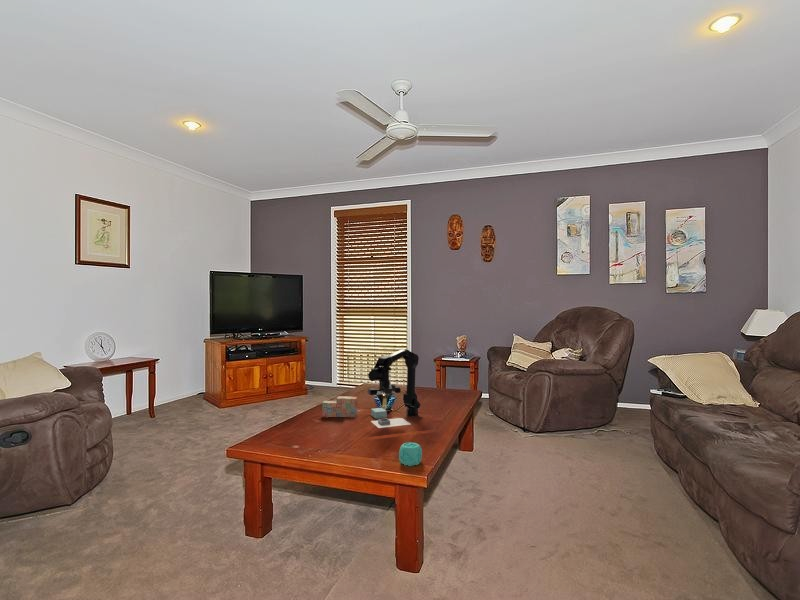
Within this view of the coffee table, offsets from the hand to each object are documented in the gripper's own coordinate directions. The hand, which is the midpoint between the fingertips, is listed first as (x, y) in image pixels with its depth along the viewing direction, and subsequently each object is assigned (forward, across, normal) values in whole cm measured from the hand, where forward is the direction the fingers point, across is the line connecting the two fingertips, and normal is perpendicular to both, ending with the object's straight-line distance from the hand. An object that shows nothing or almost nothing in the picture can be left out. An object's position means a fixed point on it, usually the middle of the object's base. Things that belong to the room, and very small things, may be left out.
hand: (384, 405), depth 254 cm
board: (+12, +4, 0) cm, 13 cm away
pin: (+2, 0, 0) cm, 2 cm away
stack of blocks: (+12, -19, +30) cm, 38 cm away
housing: (+12, +2, +16) cm, 20 cm away
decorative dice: (+12, -8, -59) cm, 61 cm away
